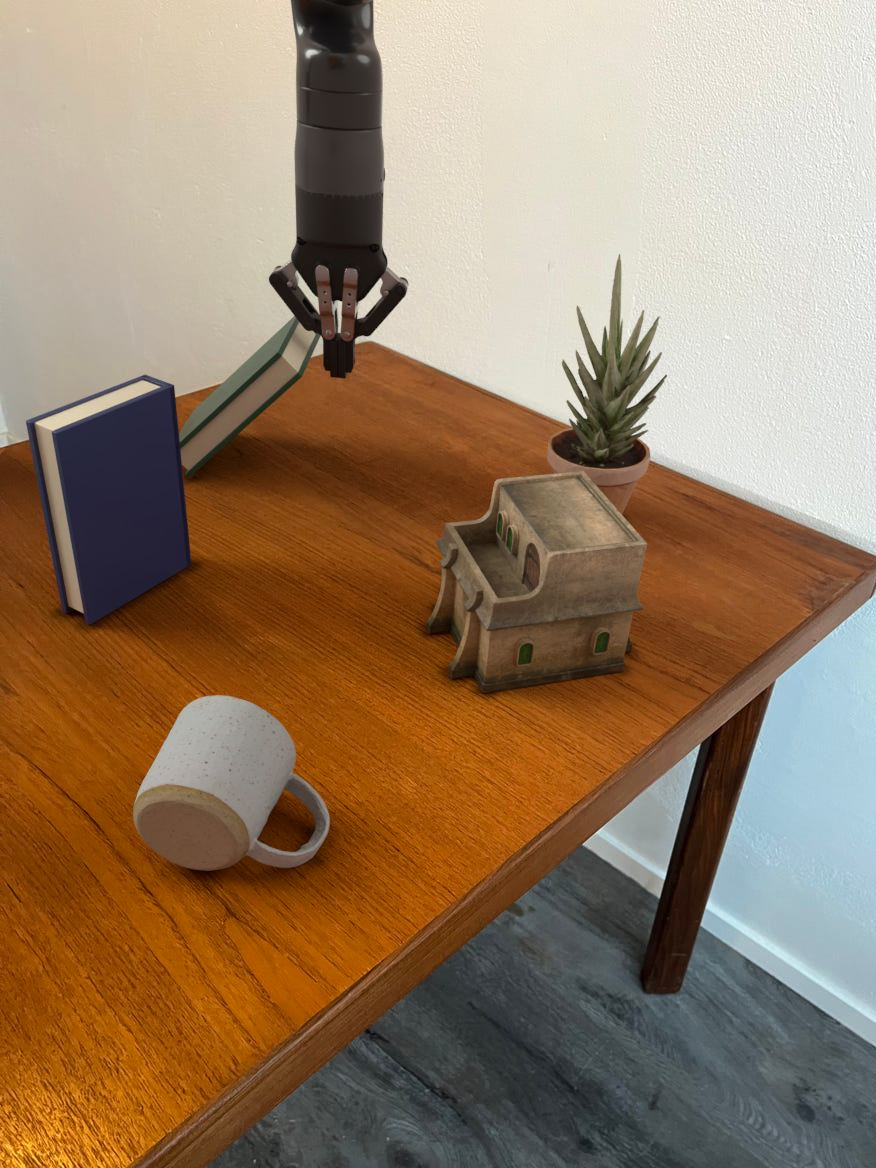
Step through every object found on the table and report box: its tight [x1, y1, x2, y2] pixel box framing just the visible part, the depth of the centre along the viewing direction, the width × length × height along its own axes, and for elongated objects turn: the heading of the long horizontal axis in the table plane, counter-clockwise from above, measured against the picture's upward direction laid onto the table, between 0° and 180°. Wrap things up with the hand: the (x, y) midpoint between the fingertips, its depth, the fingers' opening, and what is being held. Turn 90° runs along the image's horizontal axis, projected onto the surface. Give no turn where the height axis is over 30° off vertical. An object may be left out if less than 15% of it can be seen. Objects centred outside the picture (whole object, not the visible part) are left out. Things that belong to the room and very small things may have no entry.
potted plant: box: [546, 253, 668, 515], centre depth 90 cm, size 10×10×25 cm
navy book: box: [25, 374, 192, 626], centre depth 77 cm, size 16×11×3 cm
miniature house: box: [426, 471, 648, 694], centre depth 78 cm, size 15×14×11 cm
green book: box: [179, 315, 322, 479], centre depth 98 cm, size 16×11×3 cm
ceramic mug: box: [132, 694, 331, 872], centre depth 60 cm, size 11×8×8 cm
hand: (339, 374), depth 96 cm, fingers closed
